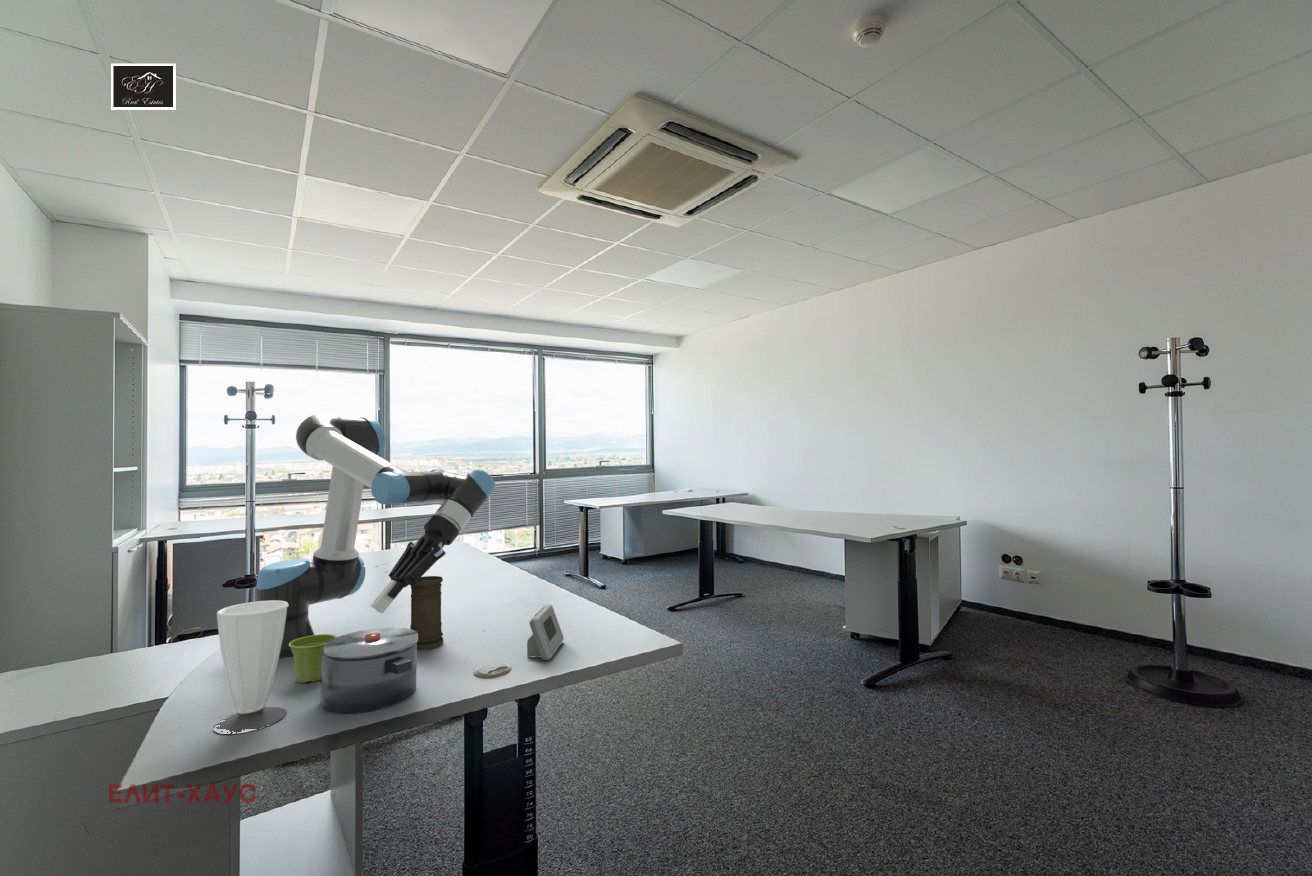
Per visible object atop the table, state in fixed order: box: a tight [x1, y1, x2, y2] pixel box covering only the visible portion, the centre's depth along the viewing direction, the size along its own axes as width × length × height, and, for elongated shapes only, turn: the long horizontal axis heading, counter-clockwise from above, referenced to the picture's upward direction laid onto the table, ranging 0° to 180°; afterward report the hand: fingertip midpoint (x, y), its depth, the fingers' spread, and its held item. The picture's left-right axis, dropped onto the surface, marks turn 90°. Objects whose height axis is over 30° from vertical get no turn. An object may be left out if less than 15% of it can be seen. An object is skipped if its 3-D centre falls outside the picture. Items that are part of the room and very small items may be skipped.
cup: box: [213, 600, 289, 734], centre depth 107 cm, size 12×12×22 cm
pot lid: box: [324, 627, 418, 660], centre depth 118 cm, size 18×18×2 cm
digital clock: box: [526, 603, 565, 661], centre depth 144 cm, size 16×9×11 cm, turn 165°
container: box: [409, 575, 444, 651], centre depth 151 cm, size 9×9×18 cm
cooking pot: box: [320, 643, 418, 715], centre depth 118 cm, size 27×18×10 cm, turn 54°
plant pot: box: [289, 633, 338, 684], centre depth 128 cm, size 9×9×9 cm
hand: (376, 609), depth 118 cm, fingers closed
